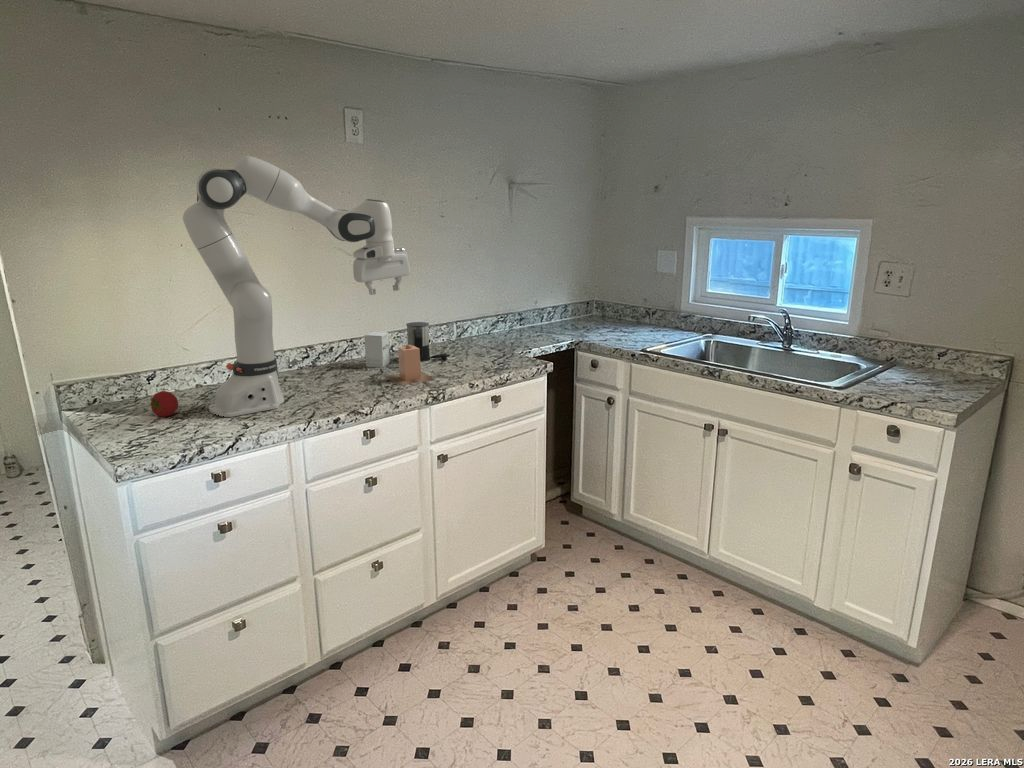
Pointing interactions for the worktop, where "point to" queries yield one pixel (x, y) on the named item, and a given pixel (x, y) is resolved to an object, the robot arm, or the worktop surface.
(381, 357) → the supplement box
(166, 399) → the tomato
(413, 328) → the milk frother
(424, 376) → the tile
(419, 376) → the tan tall prism
